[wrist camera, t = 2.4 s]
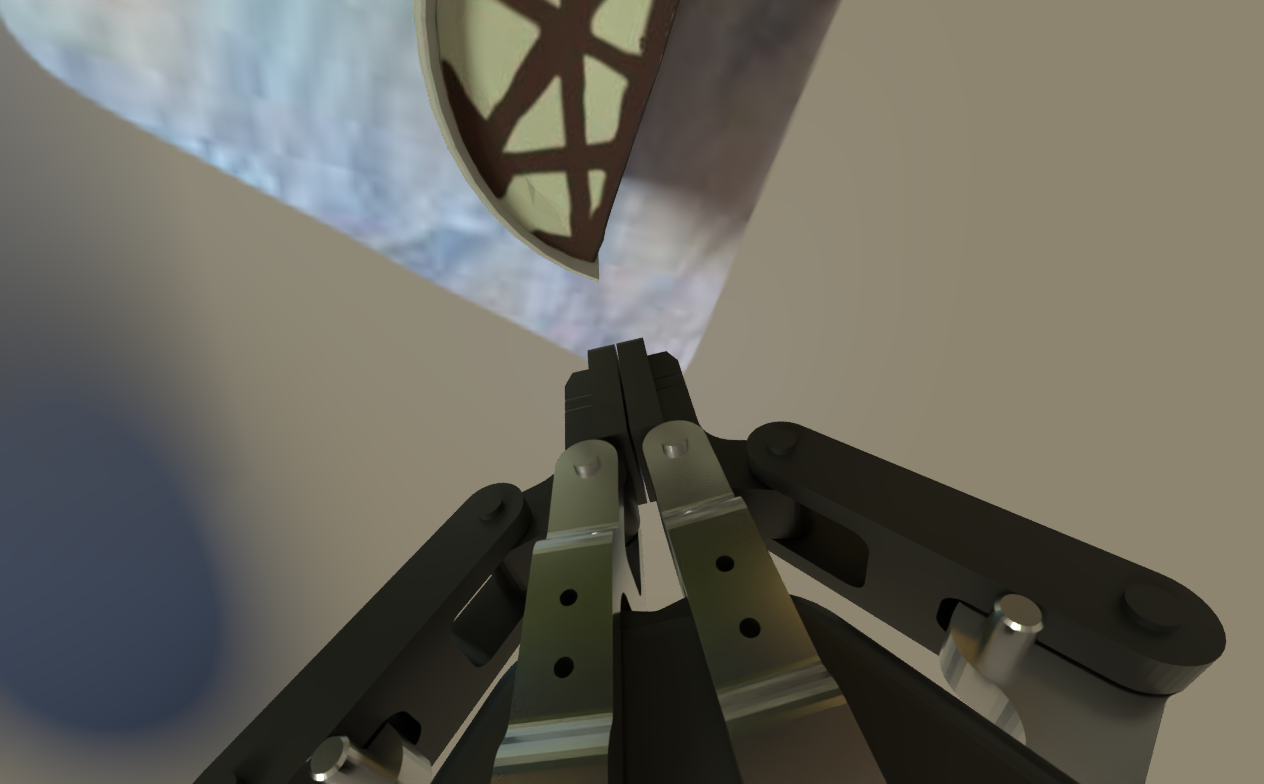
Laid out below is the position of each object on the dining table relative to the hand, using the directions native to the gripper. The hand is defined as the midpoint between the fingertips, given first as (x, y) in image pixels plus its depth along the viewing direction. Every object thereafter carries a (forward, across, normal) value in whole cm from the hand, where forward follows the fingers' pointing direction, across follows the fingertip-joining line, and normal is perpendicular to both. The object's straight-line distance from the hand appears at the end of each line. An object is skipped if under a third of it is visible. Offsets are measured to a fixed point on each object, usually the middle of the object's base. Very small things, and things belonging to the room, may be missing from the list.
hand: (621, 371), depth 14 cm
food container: (+13, 0, -8) cm, 15 cm away
